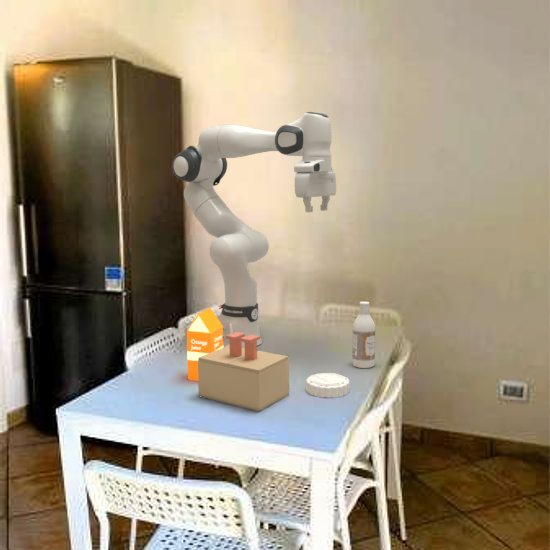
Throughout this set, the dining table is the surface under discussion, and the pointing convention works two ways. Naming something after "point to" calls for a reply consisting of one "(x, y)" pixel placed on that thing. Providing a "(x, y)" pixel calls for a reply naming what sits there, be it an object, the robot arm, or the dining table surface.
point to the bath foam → (363, 339)
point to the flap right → (256, 357)
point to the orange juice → (202, 339)
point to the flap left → (227, 351)
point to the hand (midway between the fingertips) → (316, 211)
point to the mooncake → (327, 385)
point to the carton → (243, 385)
